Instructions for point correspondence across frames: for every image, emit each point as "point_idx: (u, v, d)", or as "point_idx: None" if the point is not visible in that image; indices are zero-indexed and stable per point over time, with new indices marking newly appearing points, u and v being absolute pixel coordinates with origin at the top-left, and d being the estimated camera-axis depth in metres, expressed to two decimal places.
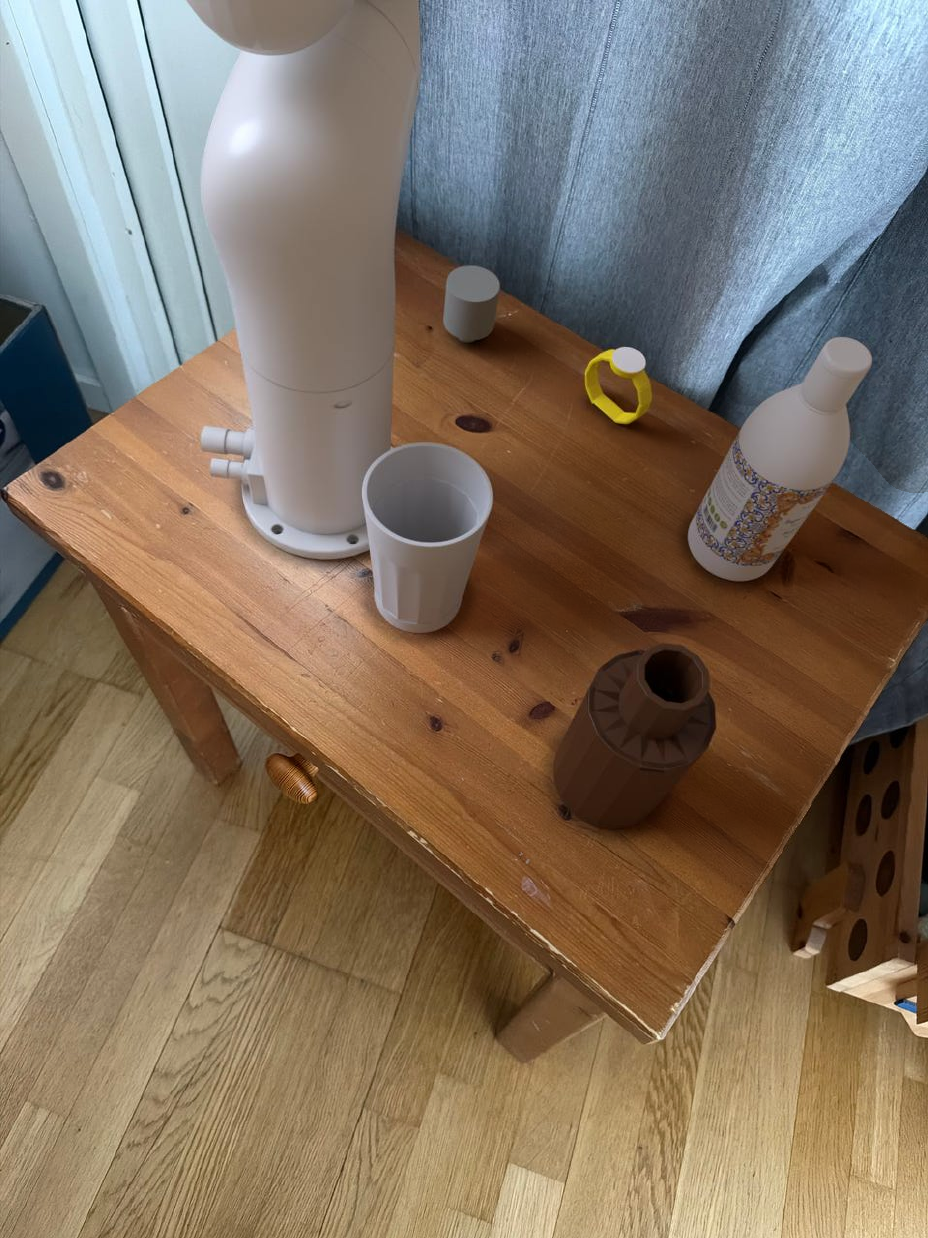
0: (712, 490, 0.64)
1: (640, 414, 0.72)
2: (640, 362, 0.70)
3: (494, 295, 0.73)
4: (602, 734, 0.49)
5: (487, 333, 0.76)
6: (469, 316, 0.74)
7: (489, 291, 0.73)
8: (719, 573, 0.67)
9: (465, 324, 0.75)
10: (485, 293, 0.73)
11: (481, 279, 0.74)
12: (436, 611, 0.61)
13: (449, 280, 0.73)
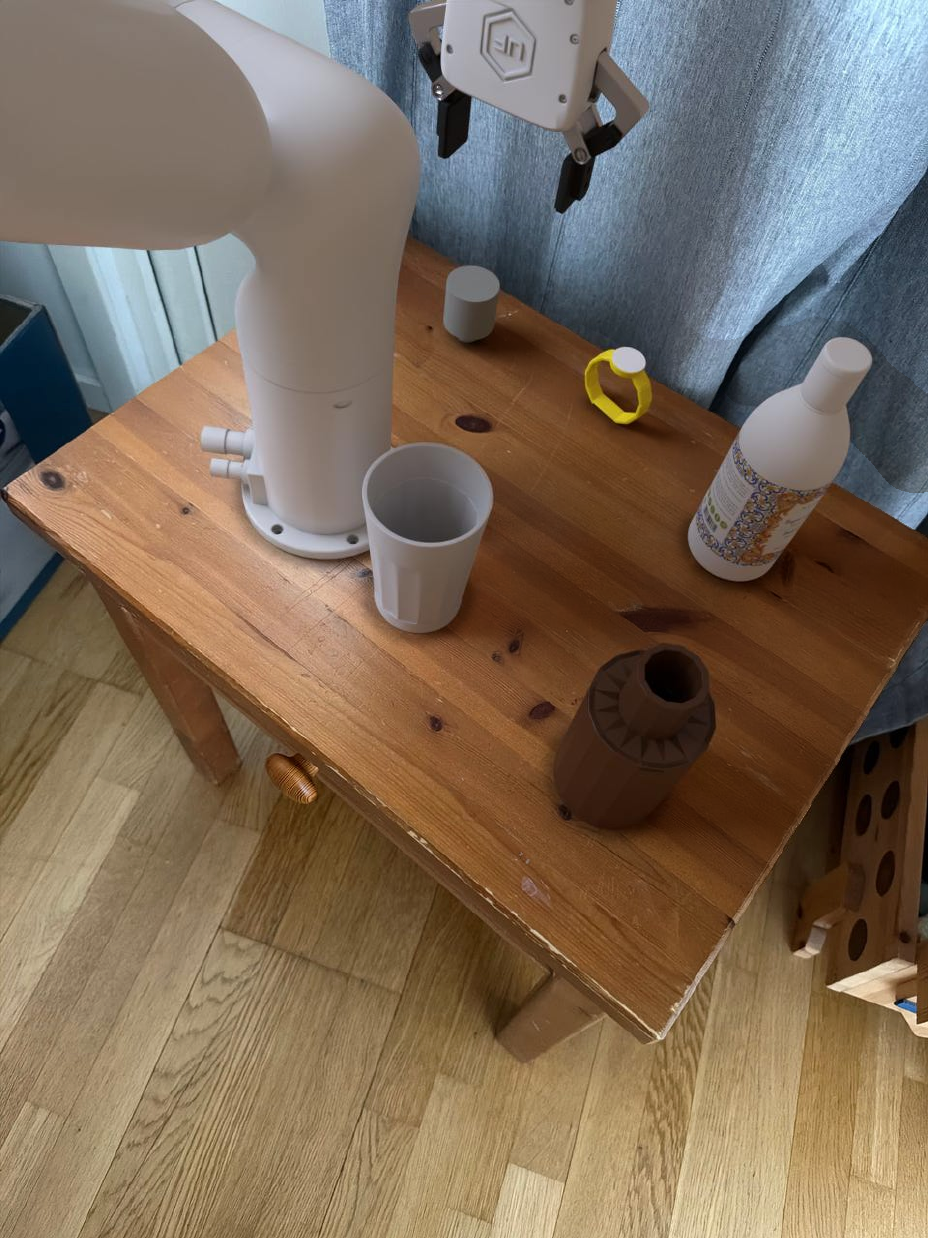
0: (712, 490, 0.64)
1: (640, 414, 0.72)
2: (640, 362, 0.70)
3: (494, 295, 0.73)
4: (602, 734, 0.49)
5: (487, 333, 0.76)
6: (469, 316, 0.74)
7: (489, 291, 0.73)
8: (719, 573, 0.67)
9: (465, 324, 0.75)
10: (485, 293, 0.73)
11: (481, 279, 0.74)
12: (436, 611, 0.61)
13: (449, 280, 0.73)
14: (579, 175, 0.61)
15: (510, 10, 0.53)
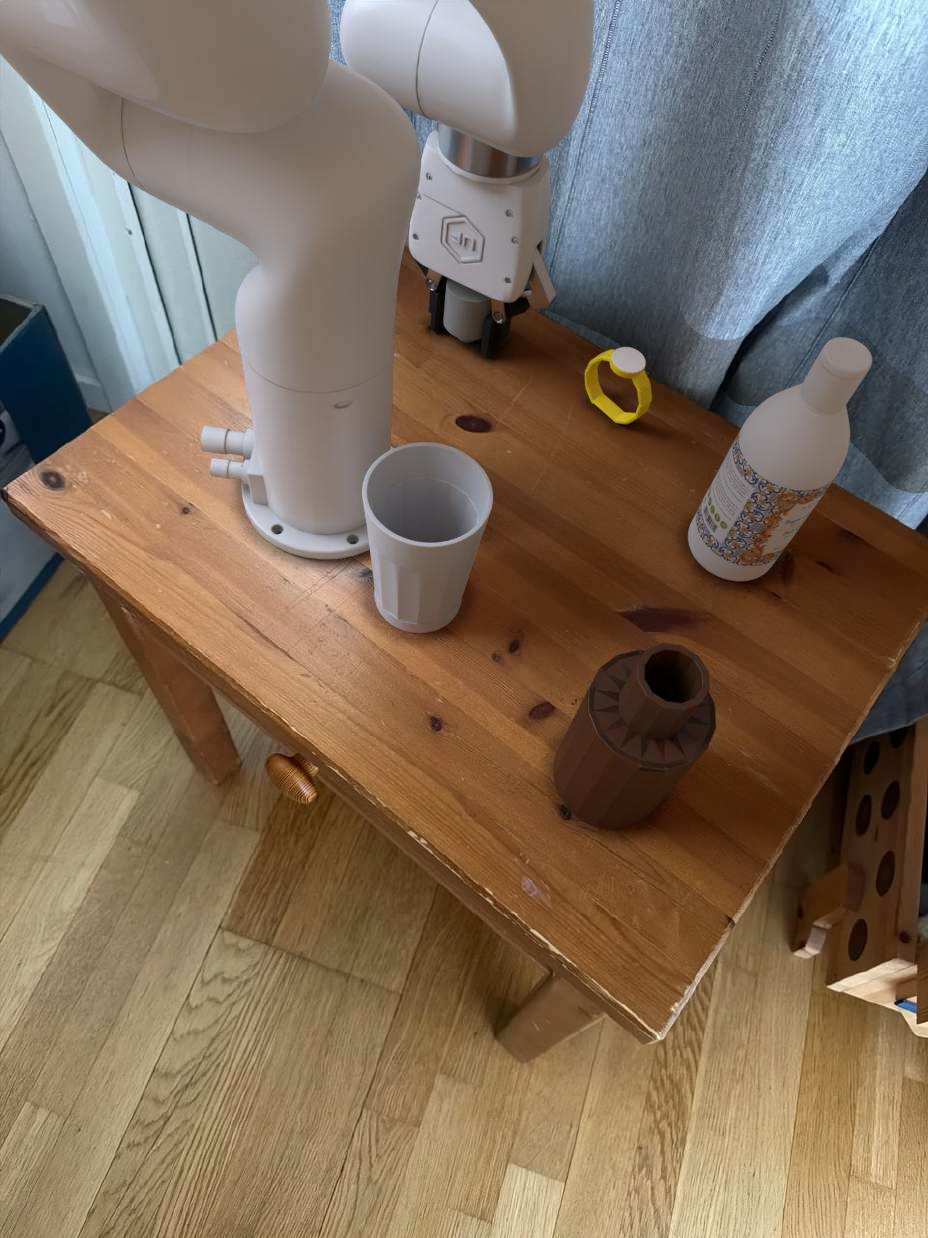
0: (712, 490, 0.64)
1: (640, 414, 0.72)
2: (640, 362, 0.70)
3: None
4: (602, 734, 0.49)
5: None
6: (469, 316, 0.74)
7: None
8: (719, 573, 0.67)
9: (465, 324, 0.75)
10: None
11: None
12: (436, 611, 0.61)
13: (449, 280, 0.73)
14: (499, 329, 0.75)
15: (463, 216, 0.66)
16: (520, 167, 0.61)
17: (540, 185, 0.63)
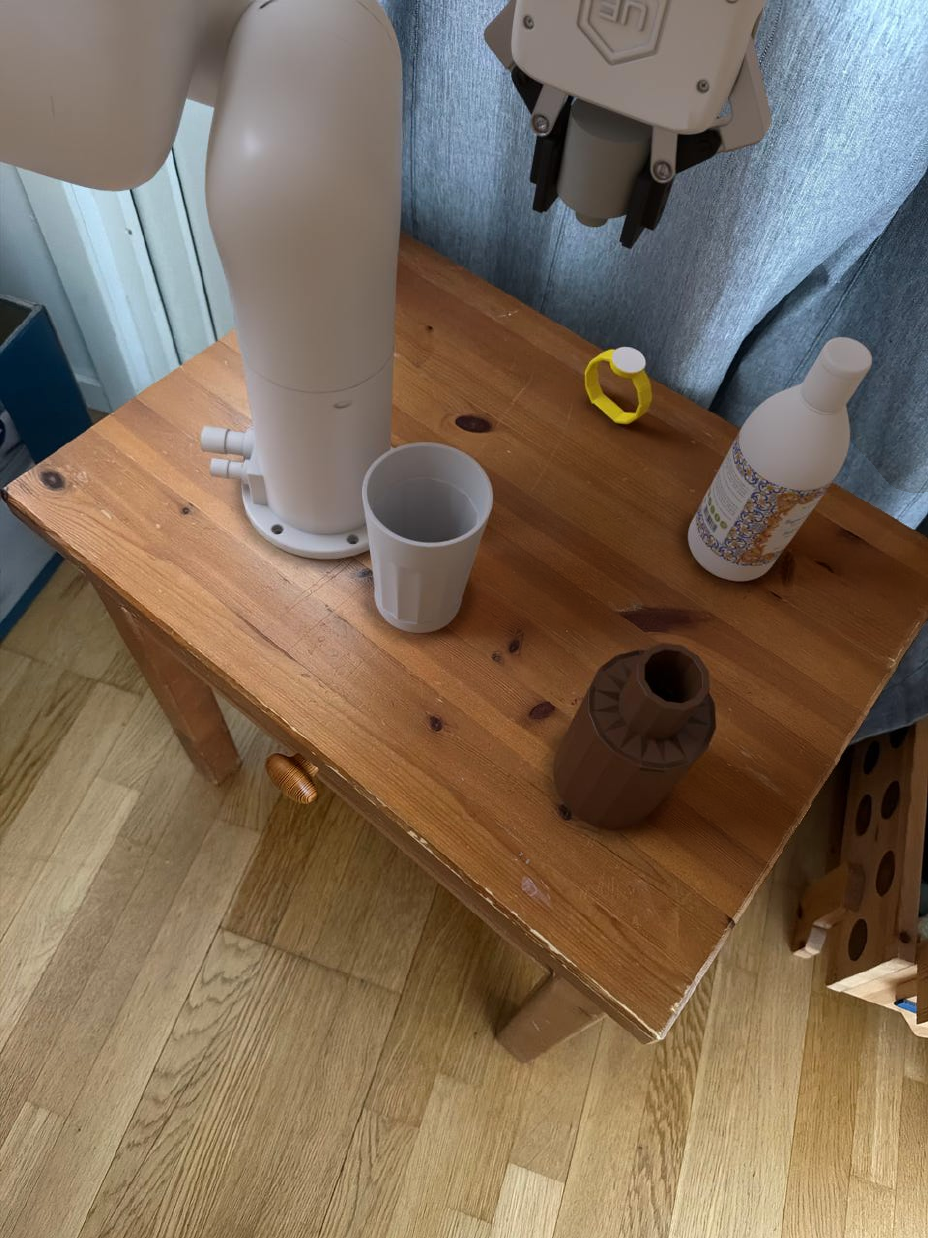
0: (712, 490, 0.64)
1: (640, 414, 0.72)
2: (640, 362, 0.70)
3: None
4: (602, 734, 0.49)
5: None
6: (610, 172, 0.44)
7: (644, 127, 0.43)
8: (719, 573, 0.67)
9: (602, 188, 0.45)
10: (639, 130, 0.43)
11: None
12: (436, 611, 0.61)
13: (575, 112, 0.43)
14: (656, 197, 0.45)
15: None
16: None
17: None
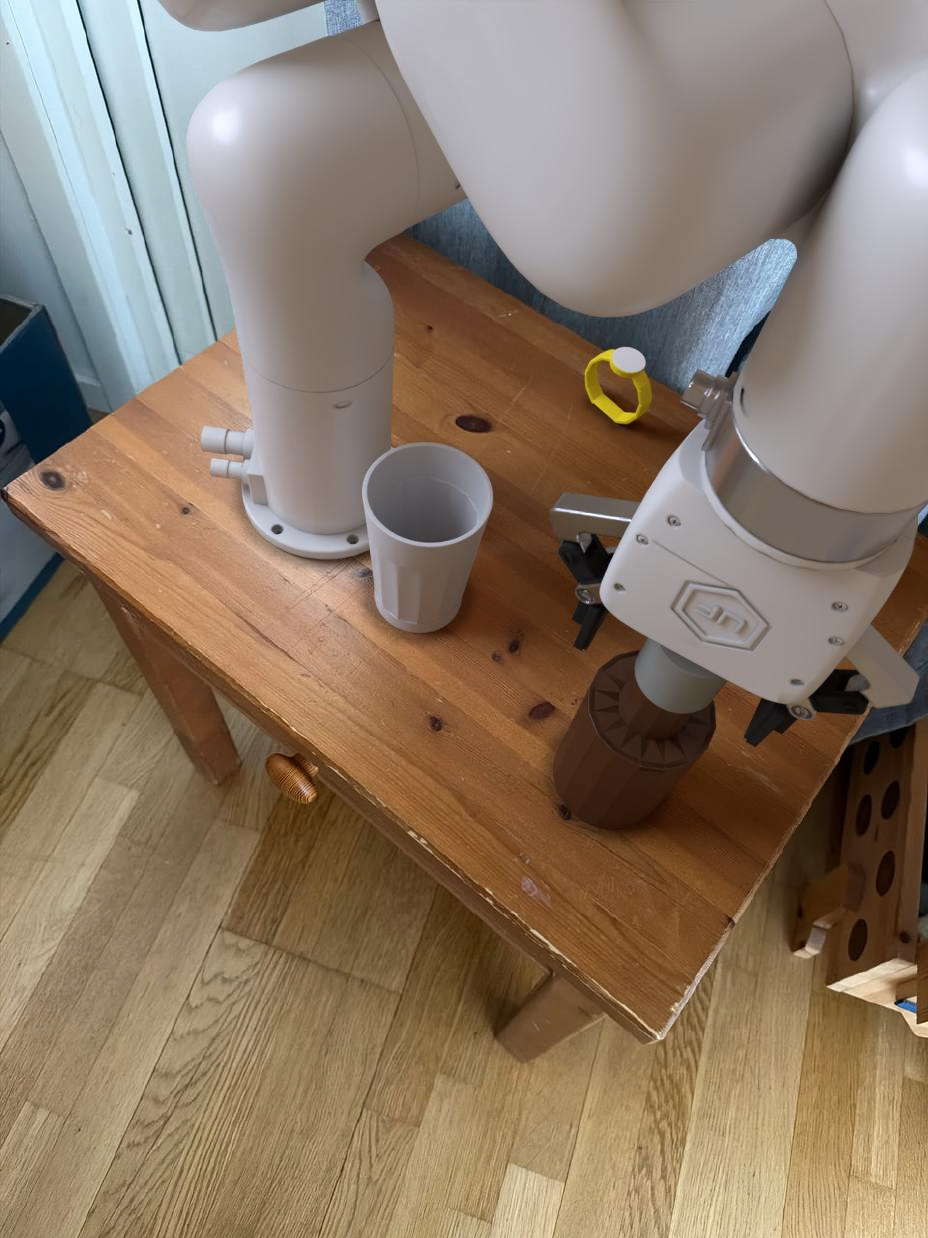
0: None
1: (640, 414, 0.72)
2: (640, 362, 0.70)
3: None
4: (602, 734, 0.49)
5: None
6: (693, 691, 0.43)
7: None
8: None
9: (683, 698, 0.44)
10: None
11: None
12: (436, 611, 0.61)
13: None
14: (790, 718, 0.42)
15: (733, 588, 0.35)
16: (886, 543, 0.30)
17: (908, 560, 0.32)
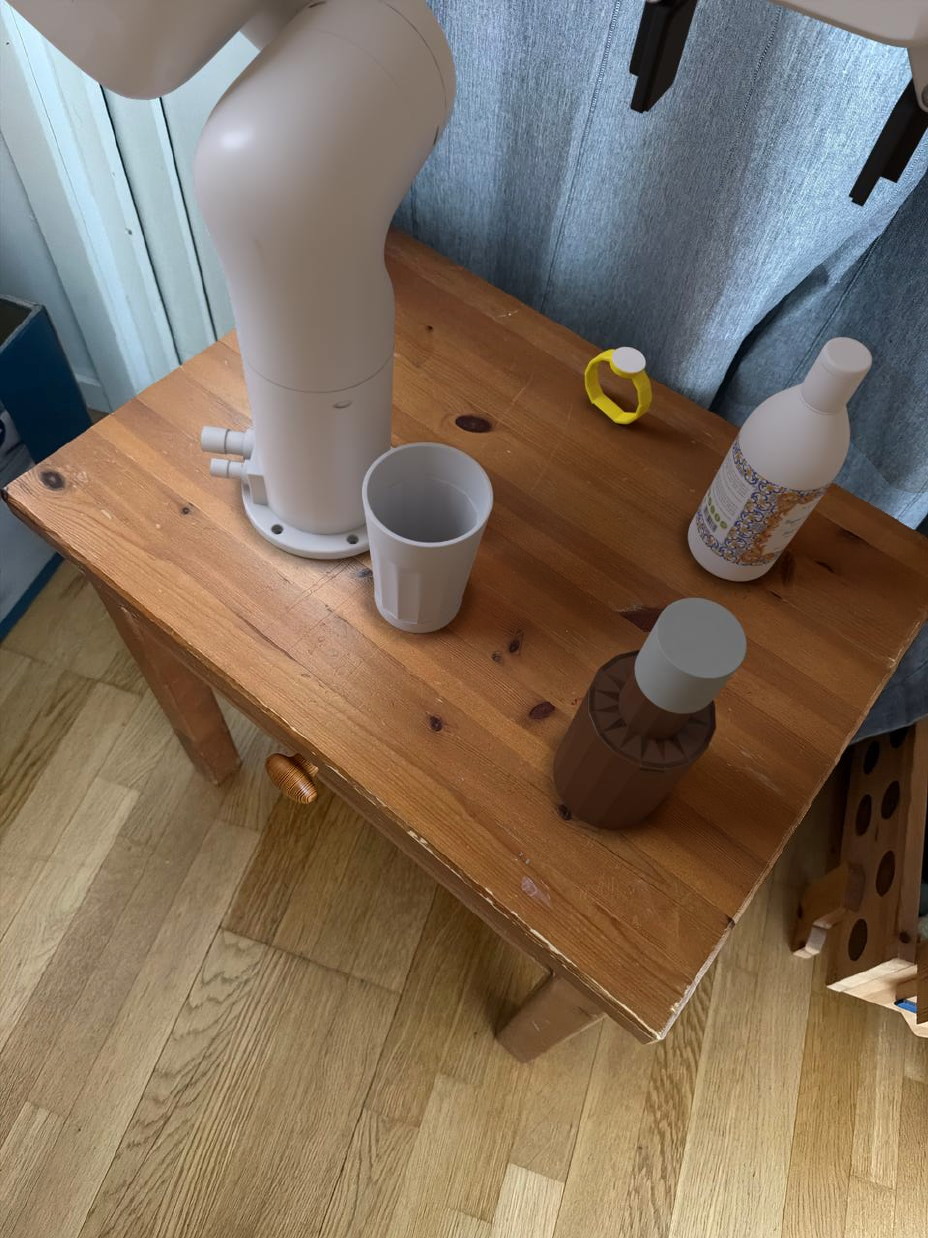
0: (712, 490, 0.64)
1: (640, 414, 0.72)
2: (640, 362, 0.70)
3: (740, 661, 0.42)
4: (602, 734, 0.49)
5: None
6: (693, 691, 0.43)
7: (731, 653, 0.42)
8: (719, 573, 0.67)
9: (683, 698, 0.44)
10: (725, 658, 0.42)
11: (714, 628, 0.43)
12: (436, 611, 0.61)
13: (661, 633, 0.43)
14: (914, 135, 0.33)
15: None
16: None
17: None
